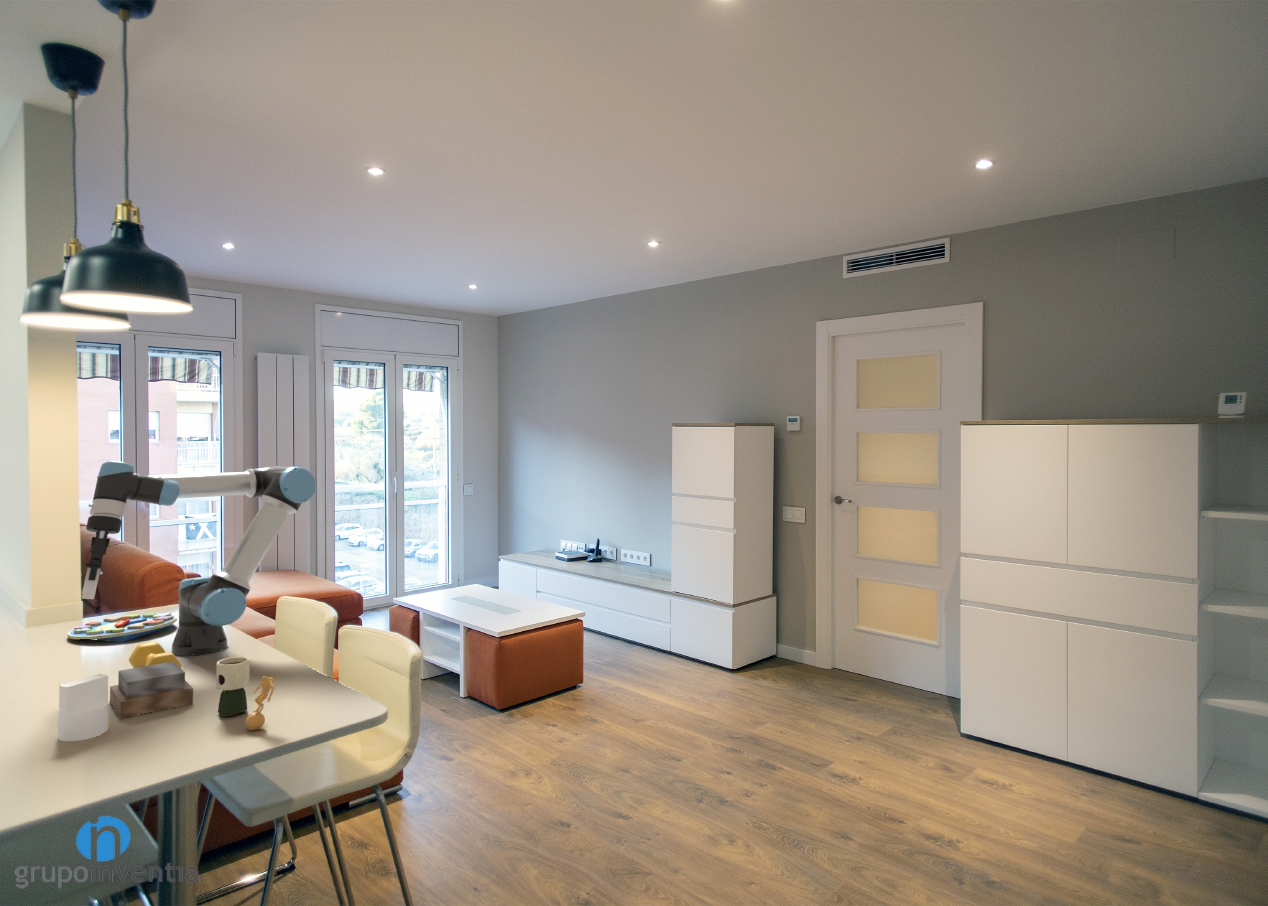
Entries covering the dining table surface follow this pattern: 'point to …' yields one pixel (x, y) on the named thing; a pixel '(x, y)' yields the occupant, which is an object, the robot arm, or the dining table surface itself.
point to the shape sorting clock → (123, 627)
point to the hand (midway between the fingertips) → (88, 596)
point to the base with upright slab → (83, 708)
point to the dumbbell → (151, 655)
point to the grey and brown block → (150, 689)
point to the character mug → (232, 684)
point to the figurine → (260, 704)
